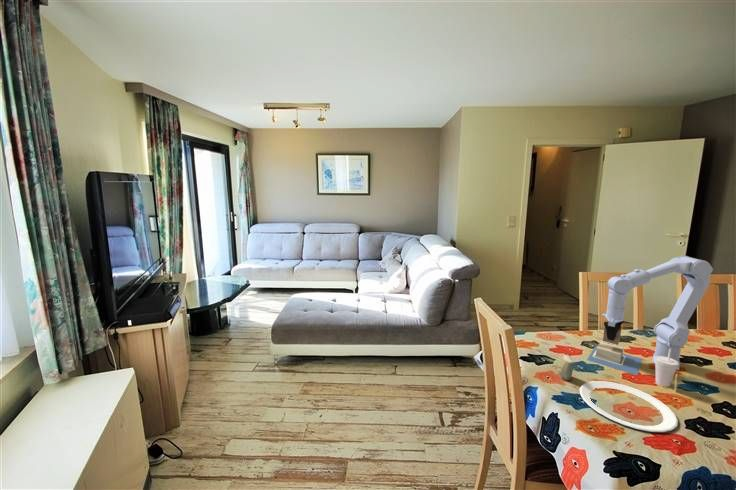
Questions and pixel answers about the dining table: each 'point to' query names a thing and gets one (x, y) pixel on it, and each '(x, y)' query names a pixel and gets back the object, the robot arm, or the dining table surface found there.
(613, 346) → the birch block
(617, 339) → the walnut block
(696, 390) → the dining table surface
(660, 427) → the white flat ring
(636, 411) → the dining table surface
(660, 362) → the smoothie
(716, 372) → the dining table surface
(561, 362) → the grey small block
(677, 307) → the robot arm
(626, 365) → the board
